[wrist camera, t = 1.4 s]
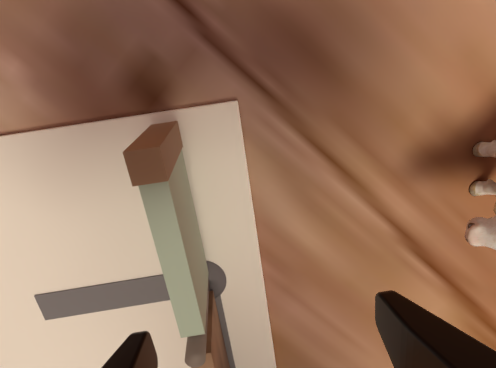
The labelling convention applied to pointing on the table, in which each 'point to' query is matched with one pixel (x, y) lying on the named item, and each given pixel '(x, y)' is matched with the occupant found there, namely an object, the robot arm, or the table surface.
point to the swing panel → (172, 221)
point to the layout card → (121, 243)
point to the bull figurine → (482, 229)
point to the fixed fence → (208, 341)
